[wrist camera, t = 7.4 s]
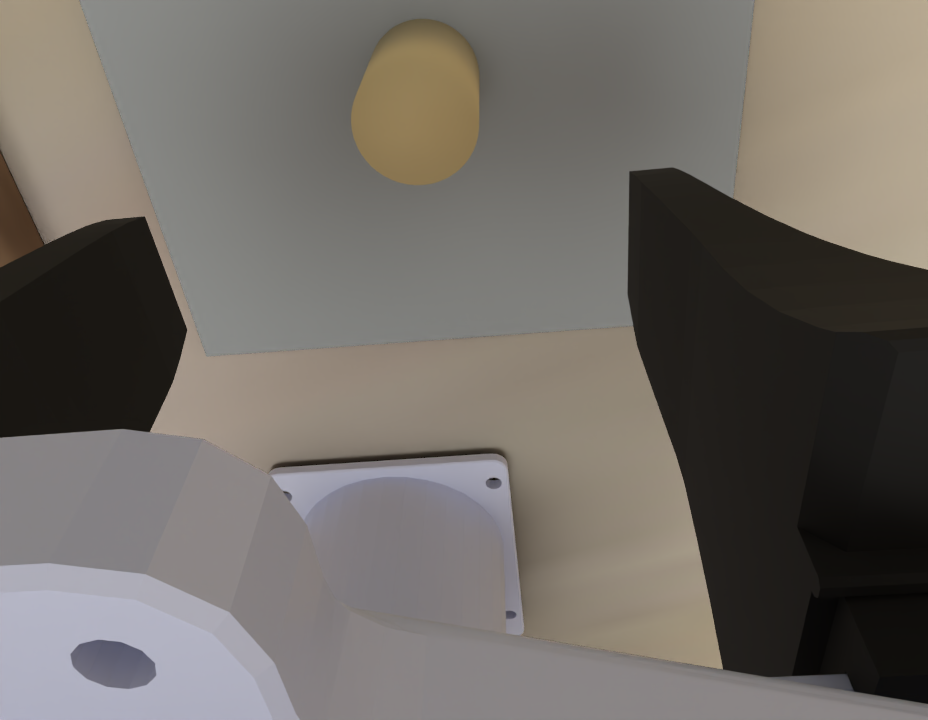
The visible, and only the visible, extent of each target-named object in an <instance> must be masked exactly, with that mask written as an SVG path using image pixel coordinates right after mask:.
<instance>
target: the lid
mask: <svg viewBox="0 0 928 720" xmlns="http://www.w3.org/2000/svg"><path fill="white" fill-rule="evenodd" d="M79 1H80V4H81V7H82V10H83V12H84V15H85V18H86V21H87V24H88V26H89V29H90V32H91V35H92V38H93V40H94V43H95V46H96V49H97V52H98V54H99V57H100V60H101V63H102V65H103V68H104V71H105V74H106V77H107V79H108V82H109V85H110V88H111V91H112V93H113V96H114V99H115V102H116V105H117V107H118V110H119V113H120V116H121V119H122V121H123V124H124V127H125V130H126V133H127V135H128V138H129V141H130V144H131V146H132V149H133V152H134V155H135V158H136V160H137V163H138V166H139V169H140V172H141V174H142V177H143V180H144V183H145V186H146V188H147V191H148V194H149V197H150V200H151V202H152V205H153V208H154V211H155V214H156V216H157V219H158V222H159V225H160V227H161V230H162V233H163V236H164V239H165V241H166V244H167V247H168V250H169V253H170V255H171V258H172V261H173V264H174V267H175V269H176V272H177V275H178V278H179V281H180V283H181V286H182V289H183V292H184V295H185V297H186V300H187V303H188V306H189V308H190V311H191V314H192V317H193V320H194V322H195V325H196V328H197V331H198V334H199V336H200V339H201V342H202V345H203V348H204V350H205V353H206V356H220V355H234V354H248V353H262V352H276V351H290V350H304V349H318V348H332V347H346V346H360V345H374V344H388V343H402V342H416V341H430V340H444V339H458V338H472V337H486V336H500V335H514V334H528V333H541V332H555V331H569V330H583V329H597V328H611V327H625V326H633V322H632V316H631V311H630V305H629V300H628V294H627V290H628V225H629V171H638V170H649V169H660V168H671V167H673V168H676V169H679V170H681V171H684V172H686V173H688V174H690V175H691V176H693V177H695V178H697V179H699V180H701V181H702V182H704V183H706V184H708V185H710V186H711V187H713V188H715V189H717V190H719V191H720V192H722V193H724V194H726V195H728V196H729V197H731V198H733V195H734V186H735V176H736V167H737V158H738V149H739V140H740V130H741V121H742V112H743V103H744V94H745V84H746V75H747V66H748V57H749V48H750V38H751V29H752V20H753V11H754V1H755V0H79Z"/></svg>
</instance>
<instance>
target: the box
mask: <svg viewBox="0 0 928 720" xmlns="http://www.w3.org/2000/svg"><path fill="white" fill-rule="evenodd" d="M42 246H44V244H43V242H42V240H41V238H40V236H39V233H38V231H37V229H36V227H35V225H34V223H33V221H32V219H31V216H30V214H29V212H28V210H27V208H26V206H25V204H24V202H23V199H22V197H21V195H20V193H19V191H18V189H17V187H16V185H15V182H14V180H13V178H12V176H11V174H10V172H9V170H8V168H7V165H6V163H5V161H4V159H3V157H2V155H1V153H0V267H2V266H4V265H6V264H8V263H10V262H12V261H14V260H16V259H18V258H20V257H22V256H24V255H26V254H28V253H30V252H32V251H34V250H36V249H38V248H40V247H42Z"/></svg>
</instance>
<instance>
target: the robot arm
mask: <svg viewBox="0 0 928 720" xmlns="http://www.w3.org/2000/svg"><path fill="white" fill-rule="evenodd" d="M627 294H628V300H629V305H630V311H631V316H632V322H633V327H634V332H635V336H636V341H637V346H638V349H639V352H640V355H641V358H642V361H643V364H644V367H645V369H646V372H647V375H648V378H649V381H650V384H651V386H652V389H653V392H654V395H655V398H656V400H657V403H658V406H659V409H660V412H661V414H662V417H663V420H664V423H665V425H666V428H667V431H668V434H669V437H670V439H671V442H672V445H673V448H674V451H675V453H676V456H677V459H678V463H679V466H680V469H681V473H682V476H683V480H684V483H685V487H686V492H687V496H688V501H689V505H690V510H691V514H692V519H693V523H694V527H695V532H696V536H697V541H698V546H699V550H700V555H701V560H702V565H703V570H704V574H705V579H706V584H707V589H708V593H709V598H710V603H711V608H712V614H713V619H714V624H715V629H716V634H717V639H718V645H719V650H720V655H721V660H722V665H723V670H722V669H716V668H710V667H704V666H698V665H692V664H686V663H680V662H674V661H668V660H662V659H656V658H650V657H644V656H638V655H632V654H626V653H620V652H614V651H608V650H602V649H597V648H591V647H585V646H579V645H573V644H567V643H561V642H555V641H549V640H543V639H537V638H531V637H525V636H520V635H521V634H522V633H523V632H524V619H523V609H522V599H521V590H520V580H519V570H518V560H517V551H516V541H515V531H514V522H513V512H512V502H511V492H510V483H509V473H508V464H507V461H506V459H505V458H504V457H503V456H501V455H498V454H476V455H461V456H446V457H431V458H416V459H401V460H385V461H370V462H355V463H340V464H325V465H310V466H295V467H280V468H275V469H273V470H271V471H270V472H269V474H267V473H266V472H264V471H262V470H260V469H258V468H256V467H254V466H253V465H251V464H249V463H247V462H245V461H243V460H241V459H240V458H238V457H236V456H234V455H232V454H230V453H228V452H227V451H225V450H223V449H221V448H219V447H217V446H215V445H213V444H212V443H210V442H208V441H206V440H204V439H198V438H190V437H182V436H174V435H166V434H158V433H150V430H151V428H152V426H153V424H154V422H155V419H156V417H157V415H158V413H159V411H160V409H161V407H162V404H163V402H164V400H165V398H166V396H167V394H168V392H169V389H170V387H171V385H172V383H173V380H174V377H175V373H176V370H177V367H178V363H179V360H180V357H181V353H182V349H183V345H184V341H185V337H186V333H187V328H186V325H185V323H184V320H183V317H182V314H181V312H180V309H179V306H178V304H177V301H176V298H175V296H174V293H173V290H172V288H171V285H170V282H169V280H168V277H167V274H166V272H165V269H164V266H163V264H162V261H161V258H160V256H159V253H158V250H157V248H156V245H155V242H154V240H153V237H152V234H151V232H150V229H149V226H148V224H147V221H146V218H145V217H134V218H123V219H112V220H105V221H101V222H98V223H94V224H91V225H88V226H86V227H83V228H81V229H78V230H76V231H74V232H71V233H69V234H67V235H65V236H63V237H60V238H58V239H56V240H54V241H52V242H50V243H48V244H46V245H44V246H42V247H40V248H38V249H36V250H34V251H32V252H30V253H28V254H26V255H24V256H22V257H20V258H18V259H16V260H14V261H12V262H10V263H8V264H6V265H4V266H2V267H0V720H928V270H926V269H922V268H917V267H913V266H909V265H904V264H900V263H896V262H891V261H888V260H884V259H881V258H877V257H873V256H870V255H866V254H863V253H860V252H857V251H854V250H851V249H848V248H845V247H842V246H839V245H836V244H833V243H830V242H827V241H824V240H821V239H819V238H816V237H814V236H811V235H809V234H806V233H804V232H801V231H799V230H797V229H795V228H792V227H790V226H788V225H786V224H783V223H781V222H779V221H777V220H774V219H772V218H770V217H768V216H766V215H764V214H762V213H760V212H758V211H756V210H754V209H752V208H750V207H748V206H746V205H744V204H742V203H740V202H739V201H737V200H735V199H733V198H731V197H729V196H728V195H726V194H724V193H722V192H720V191H719V190H717V189H715V188H713V187H711V186H710V185H708V184H706V183H704V182H702V181H701V180H699V179H697V178H695V177H693V176H691V175H690V174H688V173H686V172H684V171H681V170H679V169H676V168H673V167H671V168H660V169H649V170H638V171H629V225H628V290H627ZM493 477H494V478H498V480H489V478H493ZM283 491H287V492H289V494H288V493H283Z"/></svg>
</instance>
